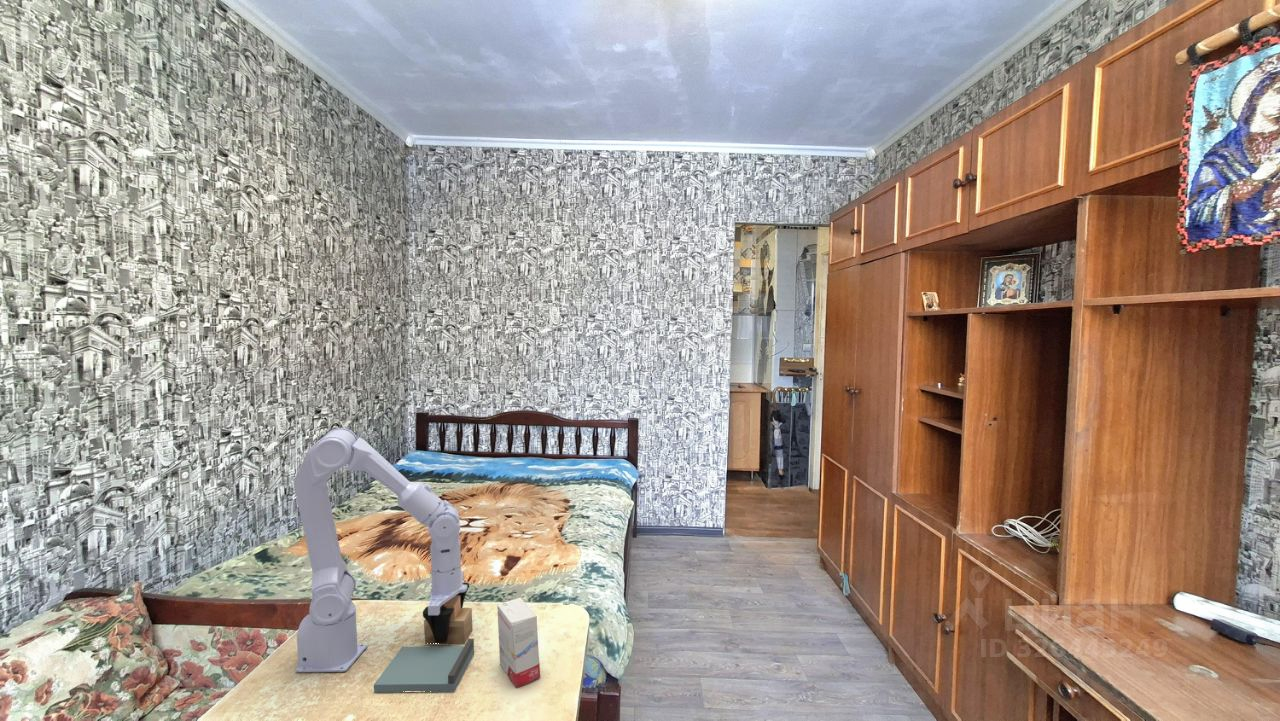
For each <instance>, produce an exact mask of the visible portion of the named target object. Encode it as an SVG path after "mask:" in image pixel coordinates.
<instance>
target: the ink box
mask: <svg viewBox="0 0 1280 721" xmlns="http://www.w3.org/2000/svg"><path fill="white" fill-rule="evenodd" d="M496 606H497V608H496V609H497V626H498V627H497V628H498V629H497V630H498V648H499V650H498V653H499V663H500V664H499V665H500V666H501V668H502V670H504V673H505V674H506V675H507V677H509V679H510V681H511V682H512V684H514V686H515V688H520V687H522V686H524V685H526V684H529V683H531V682H533V681H535V680H538V679H539V678H541V667H540V664H541V663H540V653H539V652H540V651H539V639H538V638H539V636H538V616H537V615H536V612H534V611H533V610H532V609H531V607H530V606H529V605H528V604H527V603H526V601H525V600H524V599H523V597H516V598H514V599H510V600H507V601H505V602H501V603H498V604H497V605H496Z"/></svg>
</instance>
